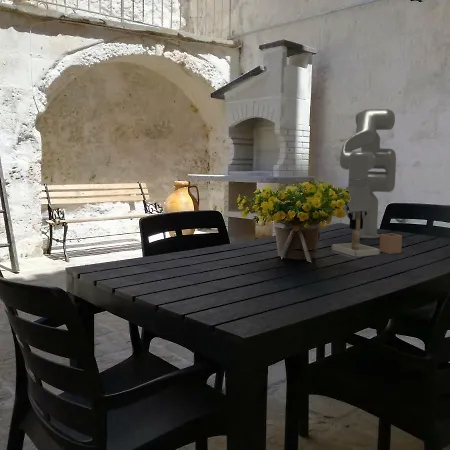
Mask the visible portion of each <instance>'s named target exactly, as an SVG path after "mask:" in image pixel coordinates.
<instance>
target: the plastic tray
mask: <svg viewBox="0 0 450 450" xmlns="http://www.w3.org/2000/svg"><path fill="white" fill-rule="evenodd" d="M331 253H334V254H338V255H341V256H345V257H347V258H350V259H352V260H353V259H354V260H359V258H357V257H367V256H375V255H377V256H378V255H381V251H380V248H378V247H377V248H376V247H373V246H370V245H366V244H362V243H359V250H352V242H346V243H345V242H343V243H333V244H331Z"/></svg>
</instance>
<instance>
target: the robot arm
mask: <svg viewBox="0 0 450 450" xmlns="http://www.w3.org/2000/svg"><path fill="white" fill-rule="evenodd" d="M395 116H396V115H395V113H394V111H393V110H392V109H389V108H376V109H375V108H374V109H373V108H371V109H364V110H362V111H360V112H358V113H356V115H355V125H356V129H355V133H354V134H353V135H351V136H350V137H349V138H348V139H346V141H344V143H343V144H342V147H341V152H340V155H339V165H340V167H341V168H342V169H344V170H348V180H347V181H348V184H347V185H348V186H346V188H345V191H346V190H349V191H350V197H351V200H350V202H349V204H348V205H347V206H344V209H343V210H345V212H346V214H345V215H346V217H348V219H349V229H350V230H352V229H356V220H355V214H356V212H361V218H360V239H380V234H379V233H378V217H379V215H378V214H379V199H378V197H377V196H376V195H375V192H376V193H377V192H380V193H381V192H382V193H390V192H392V191H394V189H395V187H396V172H397V171H396V170H397V169H396V168H397V166H396V165H397V156H396V155H397V154H396V151H395V150H394V149H393V148H386V147H385V148H383V147H382V148H381V137H380V135H379V133H378V132H377V131H379V130H381V131H382V130H383V131H384V130H386V131H389V130H392V129H393V128H394V125H395V122H396V117H395ZM357 149H360V150H358V151H356V150H357ZM372 169H374V170H375V169H377V170H378V169H379V170H381V169H382V170H383V169H384V171H373V170H372ZM370 170H371V171H370Z"/></svg>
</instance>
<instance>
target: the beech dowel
mask: <svg viewBox="0 0 450 450" xmlns="http://www.w3.org/2000/svg"><path fill="white" fill-rule="evenodd" d="M360 218H361V212H356V214H355V220H356V229H351V230H352V232H351V243H352V250H359V244H360V239H361V238H360Z"/></svg>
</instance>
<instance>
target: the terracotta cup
mask: <svg viewBox="0 0 450 450" xmlns="http://www.w3.org/2000/svg"><path fill="white" fill-rule="evenodd" d="M402 247H403V235H401V234H398V233H381V234H380V237H379V249H380V253H384V254H388V255H392V254H401V253H402Z"/></svg>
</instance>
